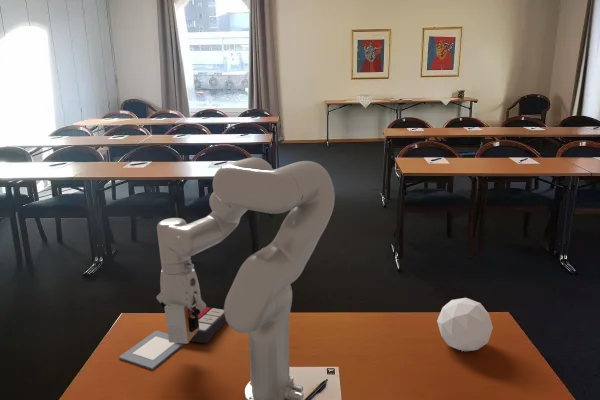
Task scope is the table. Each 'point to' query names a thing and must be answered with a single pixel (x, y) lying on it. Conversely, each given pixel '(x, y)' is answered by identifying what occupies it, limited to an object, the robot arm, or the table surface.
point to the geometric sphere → (465, 324)
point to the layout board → (151, 350)
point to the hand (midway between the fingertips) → (183, 326)
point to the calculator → (209, 324)
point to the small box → (178, 323)
